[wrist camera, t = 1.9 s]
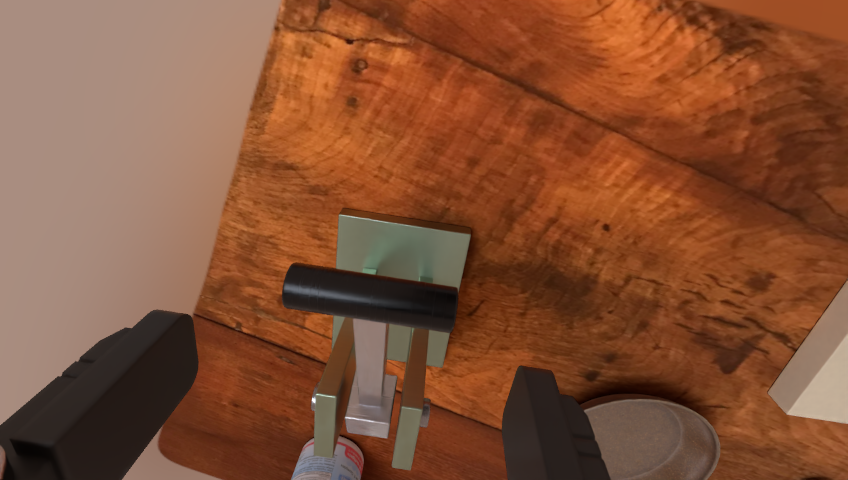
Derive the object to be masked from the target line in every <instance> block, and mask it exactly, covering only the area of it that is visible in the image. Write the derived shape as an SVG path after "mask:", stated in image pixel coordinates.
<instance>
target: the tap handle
mask: <svg viewBox="0 0 848 480" xmlns="http://www.w3.org/2000/svg"><path fill="white" fill-rule="evenodd" d="M282 301H283V305H284V307H286V308H288V309H295V310H301V311H308V312H314V313H321V314H327V315H334V316H340V317H347V318H353V330H354V343H355V356H356V370H355V373H354V377H353V382H352V386H351V391H350V395H349V400H348V404H347V408H346V413H345V422H346V427H347V432H349V433H355V434H362V435H368V436H375V437H382V438H388V435H389V429H390V423H391V416H392V410H393V404H394V397H395V391H396V384H397V376H394V375H388V374H386V362H387V349H388V336H389V324H393V325H399V326H406V327H412V328H419V329H425V330H432V331H438V332H445V333H451V332H452V331H453V328H454V325H455V320H456V314H457V307H458V288H457V287H453V286H446V285H440V284H433V283H427V282H420V281H414V280H407V279H401V278H394V277H388V276H381V275H375V274H368V273H362V272H355V271H349V270H342V269H336V268H329V267H323V266H316V265H310V264H303V263H297V262H296V263H293V264H292V265H291V266H290V267H289V269H288V271H287V274H286V277H285V280H284V284H283V291H282Z"/></svg>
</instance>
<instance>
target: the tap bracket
mask: <svg viewBox="0 0 848 480" xmlns="http://www.w3.org/2000/svg"><path fill="white" fill-rule="evenodd" d="M470 237H471V230H470V228H469V227H462V226H456V225H449V224H443V223H436V222H430V221H424V220H417V219H411V218H404V217H398V216H391V215H385V214H378V213H372V212H365V211H359V210H352V209H346V208H343V209H342V210H341V212H340V214H339V220H338V239H337V258H336V269H342V270H349V271H355V272H362V273H368V274H375V275H381V276H388V277H394V278H401V279H407V280H414V281H420V282H427V283H433V284H440V285H446V286H453V287H457V288H458V293H459V289H460V284H461V279H462V275H463V270H464V265H465V261H466V256H467V251H468V247H469V242H470ZM449 335H450V333H445V332H438V331H432V330H425V329H419V328H412V327H406V326H399V325H393V324H389V336H388V349H387V359H388V360H395V361H402V362H406V368H405V375H404V382H403V389H402V396H401V403H400V410H399V417H398V425H397V432H396V439H395V446H394V453H393V460H392V467H393V468H399V469H406V470H411V467H412V462H413V457H414V452H415V447H416V442H417V437H418V432H419V427H427V426H428V421H429V415H430V405H431V400H430V399H428V398H424V388H425V375H426V365H428V366H434V367H441V368H442V367H443V363H444V359H445V354H446V349H447V345H448V340H449ZM355 370H356V356H355V343H354V330H353V318H347V317H340V316H334V315H333V335H332V352H331V355H330V357H329V360H328V362H327V365H326V368H325V370H324V373H323V375H322V378H321V381H320V382H318V383H317V384H316V386H315V389H314V392H313V396H312V401H311V410H313V411H315V425H314V456H319V457H326V458H333V455H334V452H335V448H336V445H337V441H338V438H339V434H340V431H341V427H342V424H343V420H344V417H345V413H346V408H347V404H348V400H349V395H350V391H351V386H352V382H353V377H354V373H355Z"/></svg>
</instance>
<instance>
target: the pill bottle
mask: <svg viewBox="0 0 848 480" xmlns="http://www.w3.org/2000/svg"><path fill="white" fill-rule="evenodd" d="M363 464H364V458H363V454H362V452H361V450H360V449H359V448H358V446H357V445H356V444H354V443H353V442H352V441H350V440H348V439H346V438H344V437H341V436H339V438H338V441H337V445H336V448H335V452H334V455H333V458H326V457H319V456H314V438H313V439H311V440H310V441H308V442H307V443H306V444H305V446H304V447H303V450H302V452H301V454H300V457H299V460H298V463H297V465H296V468H295V471H294V473H293V476H292V479H291V480H360V479H361V474H362V470H363Z"/></svg>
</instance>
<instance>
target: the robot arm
mask: <svg viewBox="0 0 848 480" xmlns="http://www.w3.org/2000/svg"><path fill="white" fill-rule="evenodd" d="M197 371H198V355H197V348H196V340H195V333H194V325H193V320H192V317H191V316H190V315H188V314H183V313H175V312H169V311H163V310H153V311H151V312H150V313H149V314H147V315H146V316H145V317H144V318H143V319H142V320H141V321H140V322H138V323H137V324H136V325H135V326H134V327H133V328H124V329H122V330H120V331H118V332H116V333H114V334H113V335H110V336H108V337H106V338H104V339H102V340H100V341H99V342H98V343H97V344H95V345H94V346H93V347H92V348H91V349H90V350H88V351H87V352H86V353H85V354H84V355H83V356H81V357H80V360H79V361H78V362H74V363H73V364H72V365H71V366H70V367H68V368H67V369H66V370H65V371H64V372H63V374H62V376H61V377H59V376H58V377H57V378H55V380H53V381H52V382H51V383H50V384H48V385H47V386H46V387H45V388H44V389H43V390H41V391H40V392H39V393H38V394H37V395H36V396H34V397H33V398H32V399H31V400H30V401H28V402H27V403H26V404H25V405H24V406H23V407H21V408H20V409H19V410H18V411H17V412H16V413H14V414H13V415H12V416H11V417H10V418H9V419H7V420H6V421H5V422H4V423H3V424H1V425H0V480H122V479H123V477H124V476H125V475H126V473H127V472H128V471H129V469H130V468H131V467H132V465H133V464H134V462H135V461H136V460H137V459H138V457H139V456H140V455H141V453H142V452H143V451H144V449H145V448H146V447H147V445H148V444H149V442H150V441H151V440H152V439H153V437H154V436H155V435H156V433H157V432H158V431H159V429H160V428H161V427H162V425H163V424H164V423H165V421H166V420H167V419H168V417H169V416H170V415H171V413H172V412H173V411H174V409H175V408H176V407H177V405H178V404H179V403H180V401H181V400H182V399H183V397H184V396H185V395H186V393H187V392H188V391H189V389H190V388H191V386H192V385H193V383H194V380H195V378H196V375H197ZM502 437H503V445H504V453H505V461H506V468H507V476H508V480H611V478H610V476H609V473H608V470H607V468H606V465H605V462H604V460H603V459H602V454H601V451H600V448H599V446H598V443H597V441H595V435H594V432H593V429H592V426H591V424H590V421H589V418H588V415H587V414H586V413H585V412H584V410H583V409H582V408H581V407H580V405H579V404H578V403H577V401H576V400H575V399H574V398H573V396H568V395H562V394H560V393H559V390H558V386H557V383H556V380H555V377H554V374H553V372H552V371H551V370H546V369H540V368H533V367H526V366H519V367H518V369H517V371H516V374H515V377H514V380H513V384H512V387H511V390H510V393H509V396H508V399H507V402H506V406H505V409H504V413H503V420H502Z"/></svg>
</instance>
